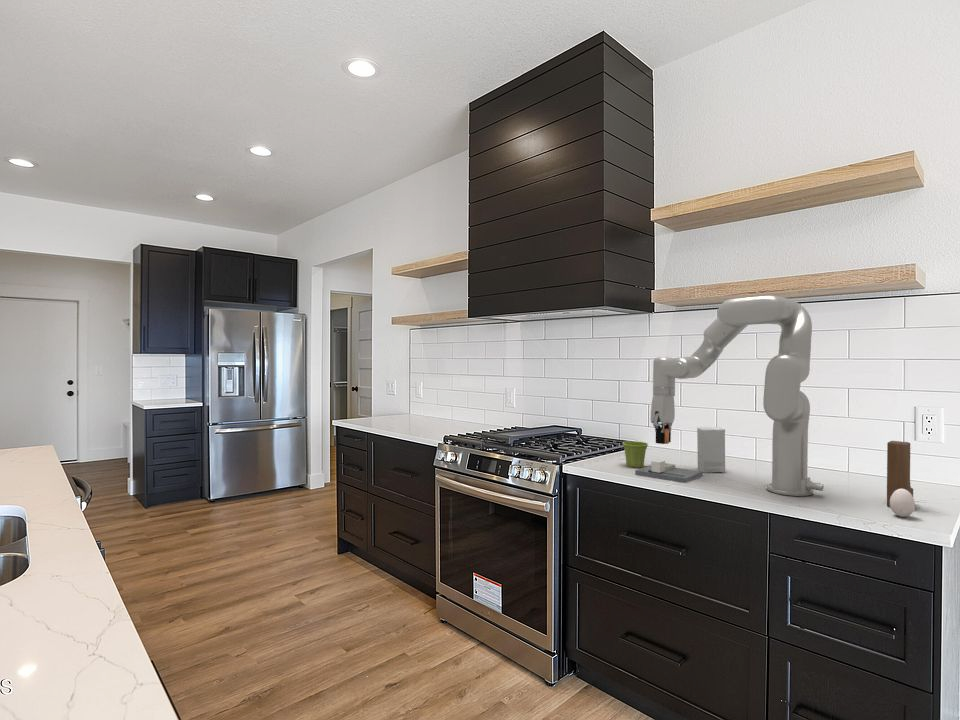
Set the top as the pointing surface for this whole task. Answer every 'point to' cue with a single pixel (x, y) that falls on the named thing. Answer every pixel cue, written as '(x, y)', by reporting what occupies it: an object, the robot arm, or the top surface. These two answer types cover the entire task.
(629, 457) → the plant pot
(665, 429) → the cap
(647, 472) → the breaker board
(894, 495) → the egg
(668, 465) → the pad
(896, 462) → the wooden block
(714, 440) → the skincare box
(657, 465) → the block
